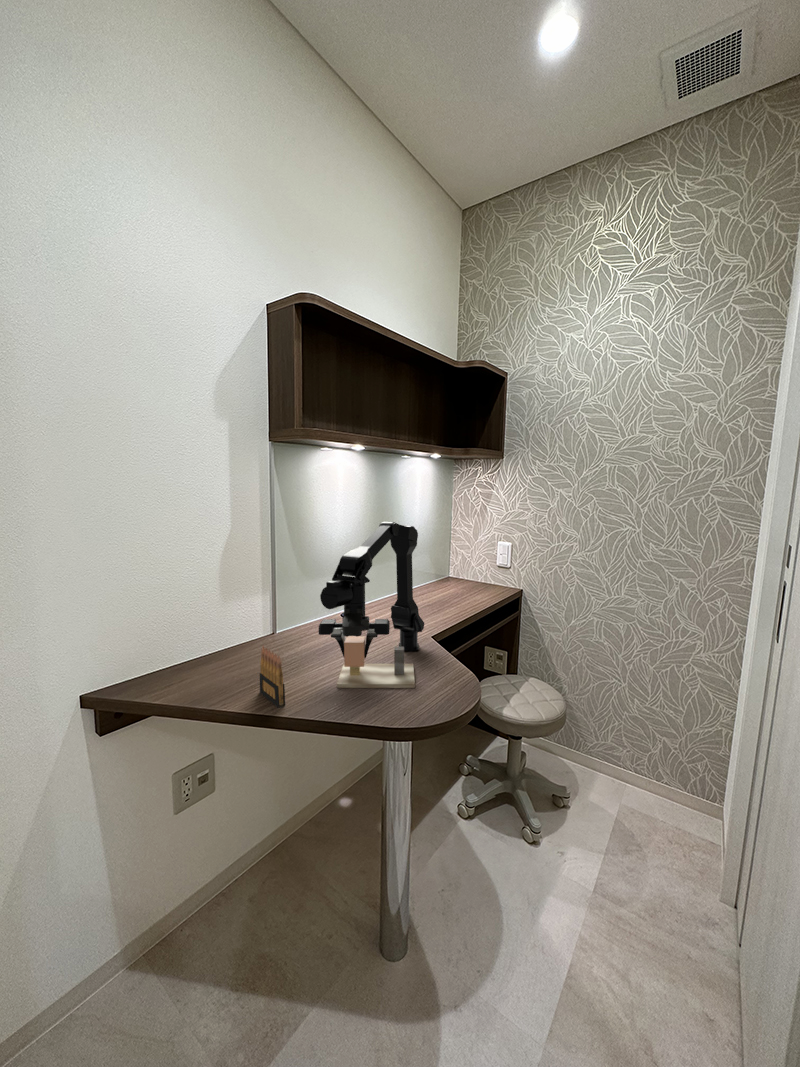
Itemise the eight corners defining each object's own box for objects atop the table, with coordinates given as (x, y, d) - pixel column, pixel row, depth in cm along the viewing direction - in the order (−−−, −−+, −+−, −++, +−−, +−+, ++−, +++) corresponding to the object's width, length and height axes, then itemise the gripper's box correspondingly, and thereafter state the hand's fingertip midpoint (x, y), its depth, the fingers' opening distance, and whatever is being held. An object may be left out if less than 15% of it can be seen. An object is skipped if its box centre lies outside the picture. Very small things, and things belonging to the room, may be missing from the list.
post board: (343, 667, 131) (343, 639, 130) (413, 667, 131) (413, 639, 130) (337, 687, 117) (336, 657, 116) (414, 687, 117) (414, 657, 116)
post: (350, 671, 125) (350, 646, 125) (360, 671, 125) (360, 646, 125) (349, 675, 123) (349, 649, 122) (359, 675, 123) (359, 649, 122)
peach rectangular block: (346, 659, 126) (346, 636, 126) (365, 659, 126) (365, 636, 126) (344, 666, 121) (344, 642, 121) (364, 666, 121) (363, 642, 121)
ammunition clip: (259, 692, 115) (258, 645, 114) (266, 690, 116) (265, 644, 115) (278, 707, 107) (276, 657, 105) (285, 705, 108) (284, 656, 107)
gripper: (314, 608, 114) (315, 669, 116) (388, 608, 114) (388, 669, 116) (321, 598, 125) (322, 653, 127) (389, 598, 125) (389, 653, 127)
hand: (355, 657), depth 124 cm, fingers closed on peach rectangular block, 5 cm apart
